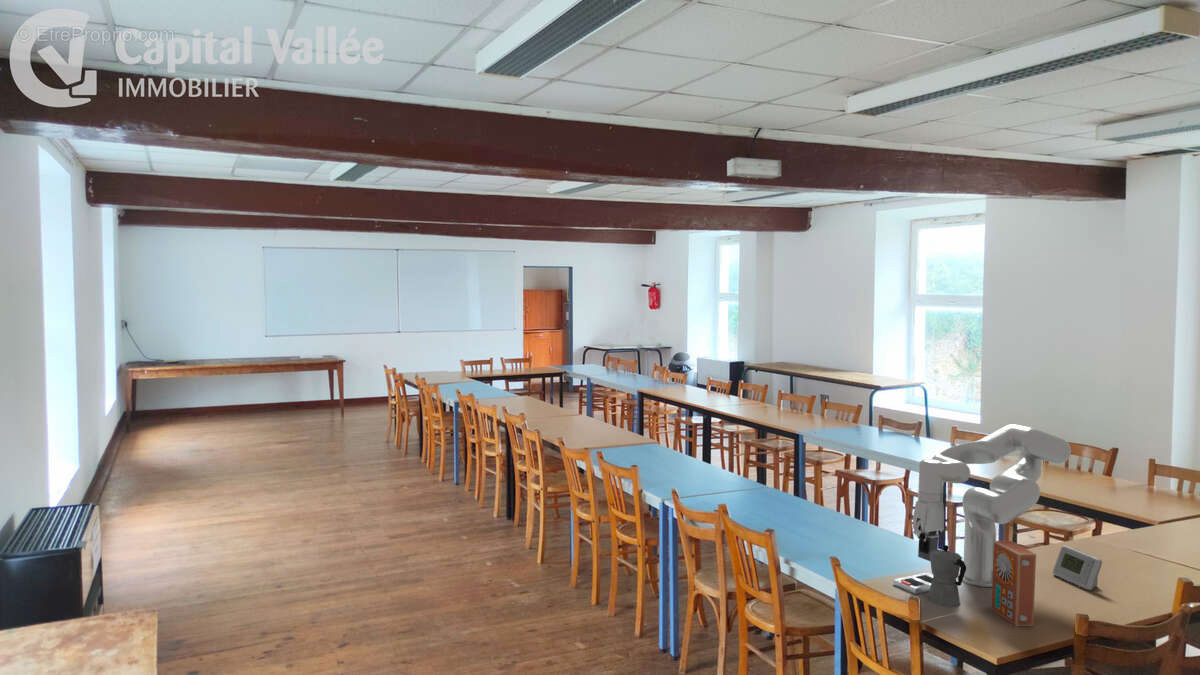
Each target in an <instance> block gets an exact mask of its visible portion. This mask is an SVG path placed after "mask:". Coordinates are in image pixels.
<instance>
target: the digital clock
mask: <svg viewBox="0 0 1200 675" xmlns="http://www.w3.org/2000/svg"><path fill="white" fill-rule="evenodd" d="M1102 565H1103V560H1102V559H1100V558H1097V557H1096V556H1093V555H1091V554H1089V553H1087V552H1085V551H1082V550H1080V549H1077V548H1074V547H1071V546H1068V545H1062V546H1061V548H1060V550H1059V553H1058V555H1057V559H1056V561H1055V564H1054V566H1053V569H1052V574H1053V576H1056V577H1058V578H1060V579H1061V578H1062V579H1061V580H1063V579H1064V580H1063V581H1065V580H1066V581H1065V582H1067V581H1068V583H1069V582H1071V583H1070V584H1072V583H1073V584H1072V585H1074V584H1075V585H1074V586H1076V585H1077V587H1078V586H1080V587H1082V588H1081V589H1085V590H1086V591H1092V590H1093V589H1094V588H1095V587H1094V586H1097V587H1098V576H1099V574H1100V571H1101V568H1102ZM1080 587H1079V588H1080Z"/></svg>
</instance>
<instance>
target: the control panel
mask: <svg viewBox="0 0 1200 675" xmlns="http://www.w3.org/2000/svg"><path fill="white" fill-rule="evenodd" d="M993 548H994V549H993V575H992V587H991V599H990V600H991V607H990V609H991V610H992V611H994V612H995V613H996V614H997V615H999V616H1001V617H1002V618H1004V620H1006V619H1007V620H1006V621H1008V622H1009V623H1011V624H1013V626H1016V627H1032V626H1034V621H1035V620H1034V618H1035V615H1034V614H1035V596H1036V592H1035V591H1036V590H1035V589H1036V569H1037V568H1036V566H1037V554H1036V553H1035V552H1033V551H1031V550H1029V549H1027V548H1025V547H1023V546H1021V545H1019V544H1017V543H1015V542H1013V541H1011V540H996V541H994V547H993Z"/></svg>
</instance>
